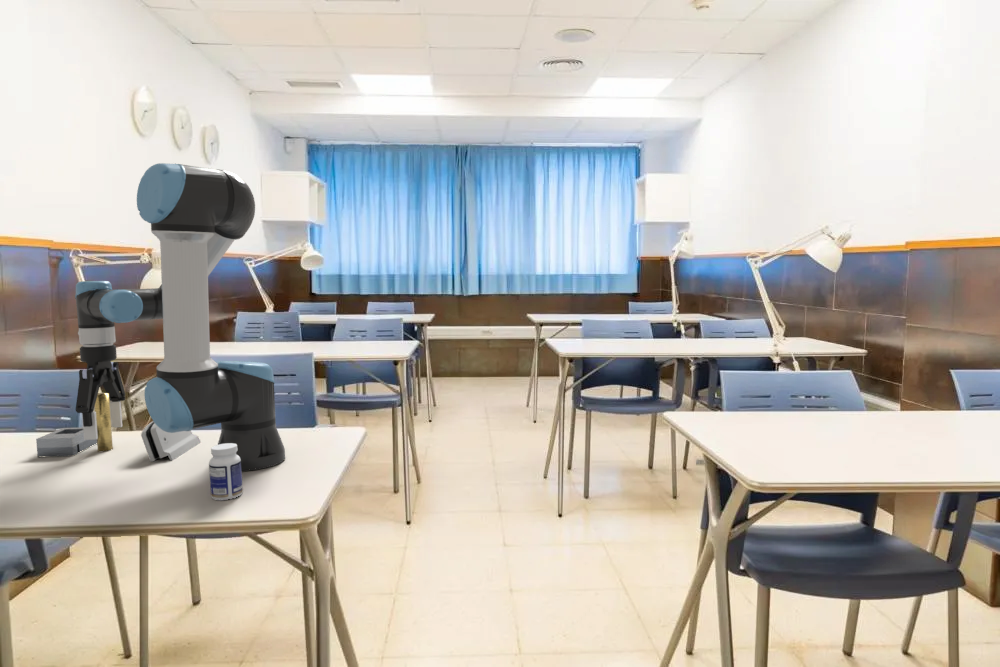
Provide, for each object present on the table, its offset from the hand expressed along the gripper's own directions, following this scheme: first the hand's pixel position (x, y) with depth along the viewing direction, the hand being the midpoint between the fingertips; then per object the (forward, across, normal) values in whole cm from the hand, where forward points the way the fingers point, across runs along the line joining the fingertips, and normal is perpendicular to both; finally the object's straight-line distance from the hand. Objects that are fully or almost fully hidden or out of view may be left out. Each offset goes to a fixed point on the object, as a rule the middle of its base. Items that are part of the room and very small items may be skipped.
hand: (104, 432), depth 161 cm
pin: (+4, 0, 0) cm, 4 cm away
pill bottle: (+4, +38, +41) cm, 56 cm away
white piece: (+5, +3, +17) cm, 18 cm away
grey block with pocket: (+4, -2, -9) cm, 10 cm away
